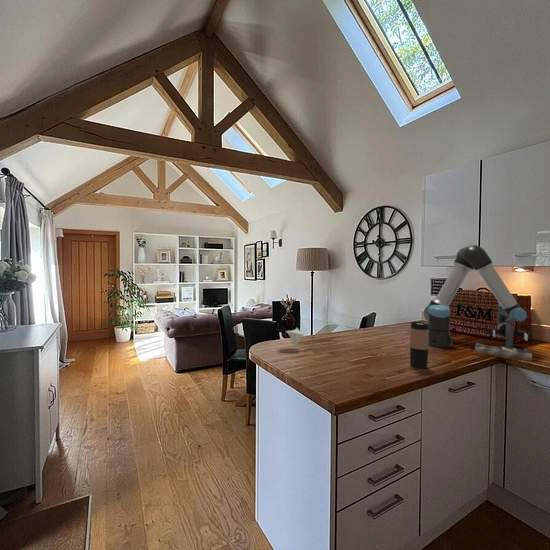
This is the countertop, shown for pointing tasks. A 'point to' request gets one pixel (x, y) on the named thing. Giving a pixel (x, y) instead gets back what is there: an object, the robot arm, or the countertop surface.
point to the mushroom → (295, 336)
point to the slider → (509, 335)
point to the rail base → (503, 352)
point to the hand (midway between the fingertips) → (510, 336)
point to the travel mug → (419, 344)
